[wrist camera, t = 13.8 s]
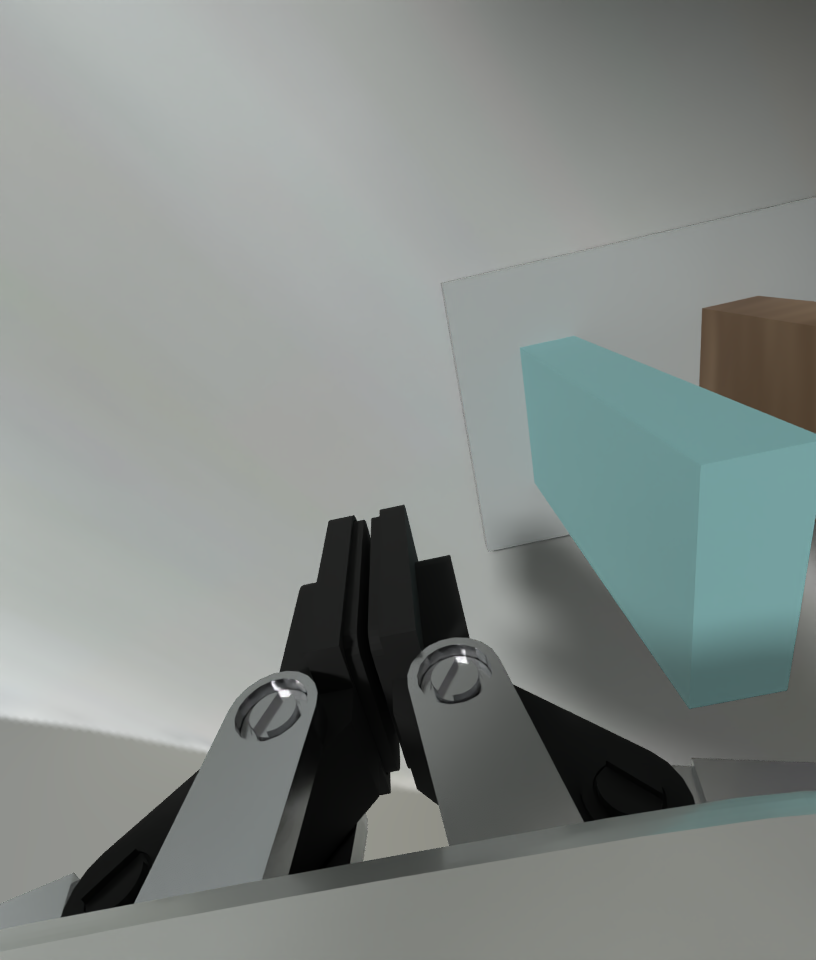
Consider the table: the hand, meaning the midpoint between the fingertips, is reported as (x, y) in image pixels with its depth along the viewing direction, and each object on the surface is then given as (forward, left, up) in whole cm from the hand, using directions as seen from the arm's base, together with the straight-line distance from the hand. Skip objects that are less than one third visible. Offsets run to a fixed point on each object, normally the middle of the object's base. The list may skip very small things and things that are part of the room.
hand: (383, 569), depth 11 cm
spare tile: (+6, 0, -7) cm, 9 cm away
